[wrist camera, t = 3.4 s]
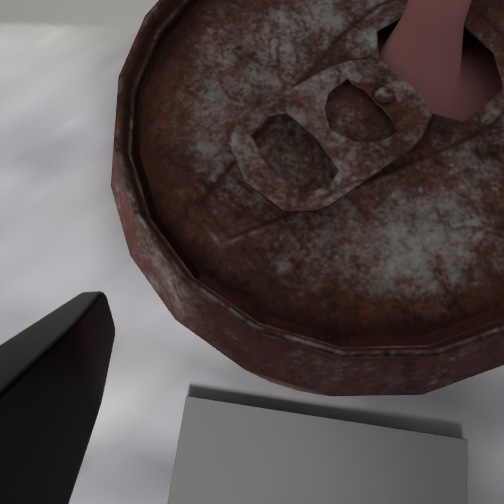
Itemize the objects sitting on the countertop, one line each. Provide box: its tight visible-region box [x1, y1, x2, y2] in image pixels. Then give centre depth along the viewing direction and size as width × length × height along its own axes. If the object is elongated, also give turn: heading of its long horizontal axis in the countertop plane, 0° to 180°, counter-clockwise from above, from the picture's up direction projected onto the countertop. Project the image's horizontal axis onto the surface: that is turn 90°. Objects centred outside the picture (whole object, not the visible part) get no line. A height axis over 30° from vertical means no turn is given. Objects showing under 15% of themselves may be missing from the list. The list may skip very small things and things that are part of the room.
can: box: [111, 0, 504, 396], centre depth 12 cm, size 6×6×14 cm
